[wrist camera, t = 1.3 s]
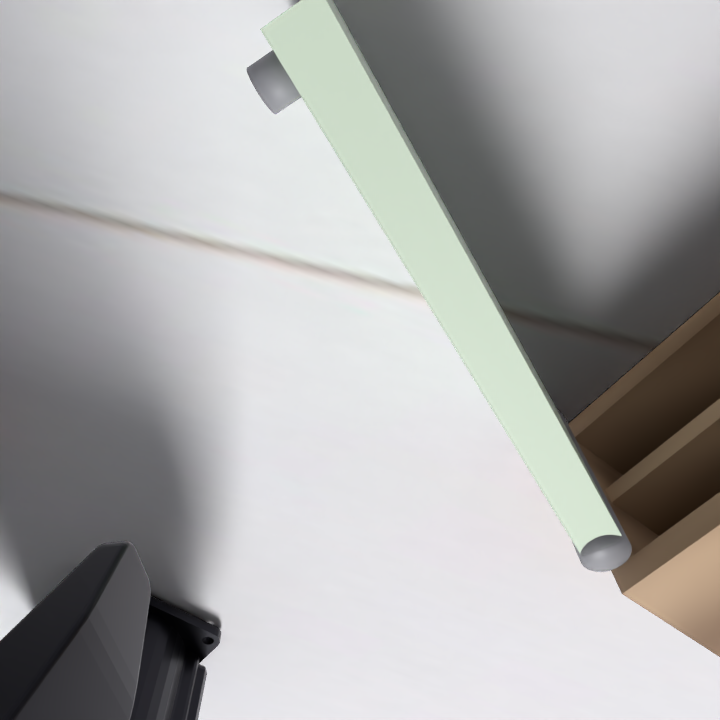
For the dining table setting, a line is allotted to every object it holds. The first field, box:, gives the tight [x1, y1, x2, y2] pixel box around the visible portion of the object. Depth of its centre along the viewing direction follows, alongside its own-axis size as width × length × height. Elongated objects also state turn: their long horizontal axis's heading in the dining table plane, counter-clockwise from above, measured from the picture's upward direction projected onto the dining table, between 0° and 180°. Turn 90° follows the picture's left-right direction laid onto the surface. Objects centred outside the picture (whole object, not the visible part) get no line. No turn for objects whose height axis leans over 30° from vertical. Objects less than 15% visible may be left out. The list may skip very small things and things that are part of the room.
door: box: [247, 0, 632, 572], centre depth 17 cm, size 2×16×6 cm, turn 31°
